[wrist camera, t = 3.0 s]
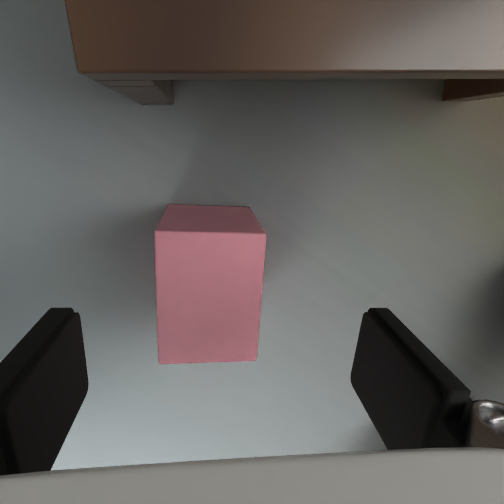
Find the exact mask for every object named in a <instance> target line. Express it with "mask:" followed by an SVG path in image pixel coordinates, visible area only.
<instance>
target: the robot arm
mask: <svg viewBox="0 0 504 504" xmlns="http://www.w3.org/2000/svg"><path fill="white" fill-rule="evenodd" d="M351 383H352V386H353V388H354V390H355V392H356V393H357V395H358V397H359V399H360V401H361V402H362V404H363V406H364V408H365V410H366V411H367V413H368V415H369V417H370V419H371V420H372V422H373V424H374V426H375V428H376V429H377V431H378V433H379V435H380V437H381V439H382V440H383V442H384V444H385V446H386V448H387V449H388V450H379V451H360V452H341V453H323V454H304V455H287V456H270V457H253V458H236V459H219V460H203V461H187V462H172V463H156V464H141V465H126V466H110V467H95V468H81V469H67V470H53V471H50V470H51V468H52V466H53V464H54V462H55V459H56V457H57V455H58V453H59V451H60V449H61V447H62V445H63V443H64V441H65V438H66V436H67V434H68V432H69V430H70V428H71V426H72V424H73V422H74V420H75V417H76V415H77V413H78V411H79V409H80V407H81V405H82V403H83V401H84V399H85V396H86V394H87V391H88V375H87V367H86V359H85V351H84V343H83V335H82V327H81V319H80V315H79V313H78V312H74V310H73V309H72V308H50V309H49V310H48V311H47V312H46V313H45V314H44V315H43V317H42V318H41V319H40V320H39V321H38V322H37V323H36V324H35V325H34V326H33V328H32V329H31V330H30V331H29V332H28V333H27V334H26V335H25V336H24V337H23V338H22V340H21V341H20V342H19V343H18V344H17V345H16V346H15V347H14V348H13V349H12V351H11V352H10V353H9V354H8V355H7V356H6V357H5V358H4V359H3V360H2V362H1V363H0V504H504V404H503V403H499V402H496V401H491V400H479V401H477V402H475V403H473V402H472V401H471V400H470V399H469V395H470V392H471V391H470V390H469V389H468V388H467V387H466V386H465V385H464V384H463V383H462V382H461V381H460V380H459V379H458V378H457V377H456V376H455V375H454V374H453V373H452V372H451V371H450V370H449V369H448V368H447V367H446V366H445V365H444V364H443V363H442V362H441V361H440V360H439V359H438V358H437V357H436V356H435V355H434V354H433V353H432V352H431V351H430V350H429V349H428V348H427V347H426V346H425V345H424V344H423V343H422V342H421V341H420V340H419V339H418V338H417V337H416V336H415V335H414V334H413V333H412V332H411V331H410V330H409V329H408V328H407V327H406V326H405V325H404V324H403V323H402V322H401V321H400V320H399V319H398V318H397V317H396V316H395V315H394V314H393V313H392V312H391V311H390V310H389V309H388V308H370V309H369V310H368V312H365V313H364V314H363V318H362V323H361V327H360V332H359V337H358V342H357V347H356V352H355V357H354V362H353V367H352V371H351Z"/></svg>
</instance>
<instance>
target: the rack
mask: <svg viewBox="0 0 504 504" xmlns="http://www.w3.org/2000/svg"><path fill="white" fill-rule="evenodd" d="M64 1H65V6H66V12H67V17H68V23H69V29H70V34H71V40H72V45H73V51H74V57H75V62H76V68H77V71H78V72H79V73H81V74H83V75H85V76H87V77H89V78H90V79H93V80H94V81H96V82H98V83H100V84H102V85H104V86H106V87H108V88H110V89H112V90H114V91H116V92H118V93H120V94H122V95H124V96H126V97H128V98H130V99H132V100H134V101H136V102H138V103H140V104H142V105H172V104H173V93H172V83H171V80H263V79H446V81H445V87H444V94H443V100H442V101H472V100H479V99H487V98H494V97H502V96H504V0H64Z"/></svg>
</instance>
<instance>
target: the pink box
mask: <svg viewBox="0 0 504 504" xmlns="http://www.w3.org/2000/svg"><path fill="white" fill-rule="evenodd" d="M266 238H267V234H266V232H265V231H264V229H263V228H262V226H261V225H260V223H259V221H258V220H257V218H256V217H255V215H254V214H253V212H252V211H251V209H250V207H234V206H206V205H179V204H169V205H168V206H167V208H166V210H165V212H164V214H163V216H162V218H161V220H160V222H159V224H158V225H157V227H156V229H155V231H154V245H155V275H156V305H157V334H158V362H159V364H177V363H206V362H236V361H256V359H257V349H258V337H259V324H260V312H261V300H262V287H263V275H264V263H265V250H266Z"/></svg>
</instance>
